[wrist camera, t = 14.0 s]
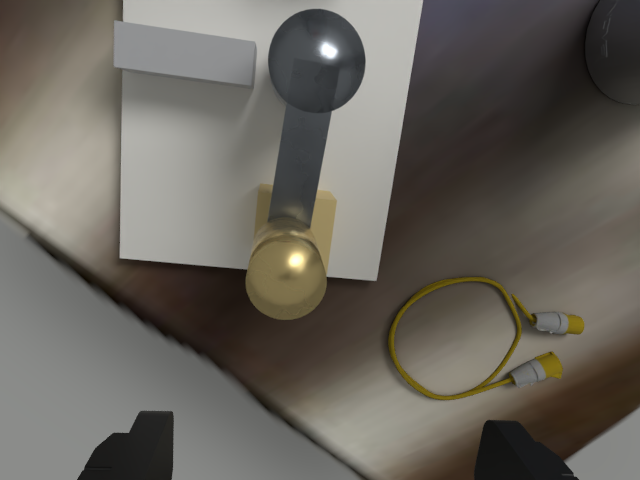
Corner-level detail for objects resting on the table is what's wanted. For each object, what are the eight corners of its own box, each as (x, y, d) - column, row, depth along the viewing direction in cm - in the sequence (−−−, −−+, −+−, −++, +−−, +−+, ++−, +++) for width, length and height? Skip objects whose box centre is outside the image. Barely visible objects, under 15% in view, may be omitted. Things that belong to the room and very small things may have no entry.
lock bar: (276, 8, 23) (276, -43, 16) (367, 29, 24) (405, -11, 17) (239, 261, 27) (224, 312, 20) (319, 273, 28) (333, 326, 20)
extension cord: (507, 428, 41) (519, 443, 39) (361, 362, 37) (366, 375, 35) (585, 319, 38) (601, 329, 36) (437, 238, 35) (446, 245, 33)
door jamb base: (441, -137, 28) (483, -204, 22) (373, 276, 35) (392, 307, 29) (131, -202, 26) (89, -296, 20) (124, 254, 33) (91, 282, 27)
